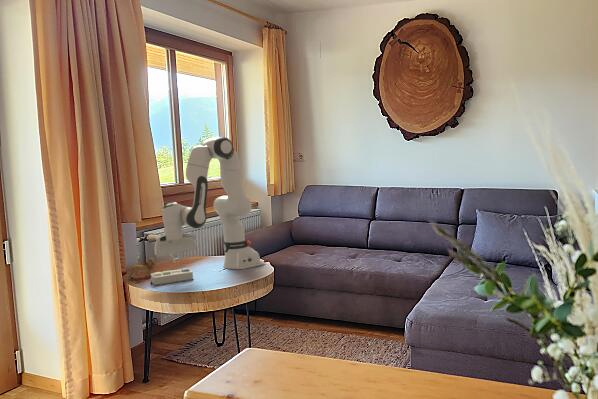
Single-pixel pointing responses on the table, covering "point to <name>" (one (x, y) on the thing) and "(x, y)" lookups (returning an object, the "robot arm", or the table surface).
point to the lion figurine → (143, 268)
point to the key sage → (166, 272)
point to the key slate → (184, 269)
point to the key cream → (157, 274)
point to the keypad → (172, 277)
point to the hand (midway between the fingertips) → (176, 261)
